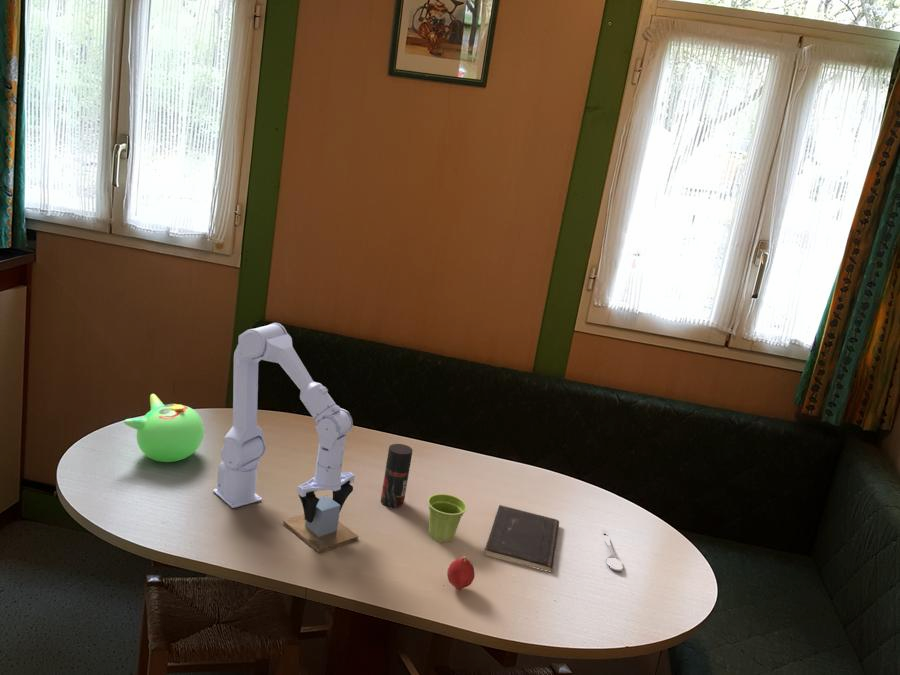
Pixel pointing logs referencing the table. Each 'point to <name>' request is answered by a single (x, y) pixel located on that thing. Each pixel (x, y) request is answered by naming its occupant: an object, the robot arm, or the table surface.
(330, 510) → the pale blue cuboid
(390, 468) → the deodorant
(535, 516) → the hardcover book
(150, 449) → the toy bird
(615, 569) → the spoon
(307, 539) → the wooden board
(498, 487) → the table surface
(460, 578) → the onion
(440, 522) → the plant pot
